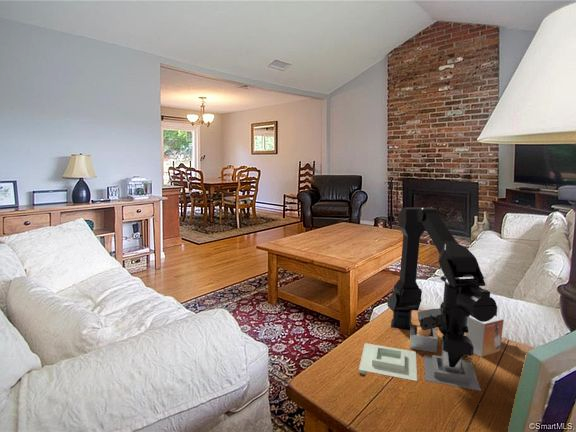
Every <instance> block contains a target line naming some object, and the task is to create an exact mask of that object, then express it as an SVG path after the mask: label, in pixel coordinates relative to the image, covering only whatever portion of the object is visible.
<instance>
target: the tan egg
mask: <svg viewBox="0 0 576 432" xmlns="http://www.w3.org/2000/svg"><path fill="white" fill-rule="evenodd" d="M430 331H431V329H428V330H422V329H421V326H420V324H419V326H417V334H418V335H425V336H430Z"/></svg>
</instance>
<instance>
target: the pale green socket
mask: <svg viewBox="0 0 576 432" xmlns="http://www.w3.org/2000/svg"><path fill="white" fill-rule="evenodd" d="M417 368H418V367H417V352H416V351H413V350H408V349H401V348H398V347H397V348H396V347H391V346H385V345H379V344H373V343H366V342H365V343H364V345H363V350H362V355H361V358H360V363H359V366H358V374H360V373H361V375H367V373H368V372H369V373H373V374H379V375H385V376H389V377H393V378H394V377H395V378H399V379H404V380H409V381H416V382H417V381H418V370H417Z"/></svg>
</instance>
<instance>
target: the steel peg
mask: <svg viewBox="0 0 576 432" xmlns="http://www.w3.org/2000/svg"><path fill="white" fill-rule="evenodd" d="M440 356H441V371H446V372H452V373H457V374H460V369H461V360H462V358H461V359H460V360H459V362H458V363H457V364H456V366H455V367H450V366H449V360H448V352H445V351H443V347H442V346H441V355H440Z"/></svg>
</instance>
